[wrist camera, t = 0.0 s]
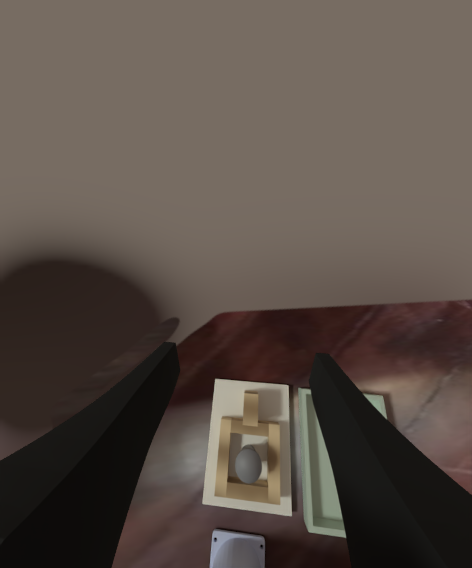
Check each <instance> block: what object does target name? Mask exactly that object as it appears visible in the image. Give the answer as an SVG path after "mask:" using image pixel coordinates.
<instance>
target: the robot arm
mask: <svg viewBox="0 0 472 568" xmlns="http://www.w3.org/2000/svg"><path fill="white" fill-rule="evenodd" d="M179 372H180V366H179V360H178V354H177V348H176V343H172V342H164V343H163V344H161V345H160V346H159V347H158V348H157V349H156V350H155V351H154V352H153V353H152V354H150V355H149V356H148V357H147V358H146V359H145V360H144V361H143V362H142V363H141V364H139V365H138V366H137V367H136V368H135V369H134V370H133V371H132V372H130V373H129V374H128V375H127V376H126V377H125V378H123V379H122V380H121V381H120V382H118V383H117V384H116V385H115V386H114V387H113V388H111V389H110V390H109V391H107V392H106V393H105V394H103V395H102V396H101V397H100V398H98V399H97V400H96V401H94V402H93V403H91V404H90V405H89V406H87V407H86V408H84V409H83V410H82V411H80V412H79V413H77V414H76V415H74V416H73V417H71V418H70V419H68V420H67V421H65V422H63V423H62V424H60V425H59V426H57V427H56V428H54V429H53V430H51V431H50V432H48V433H47V434H45V435H43V436H42V437H40V438H38V439H37V440H35V441H33V442H32V443H30V444H28V445H27V446H25V447H23V448H22V449H20V450H18V451H16V452H15V453H13V454H11V455H10V456H8V457H6V458H4V459H3V460H1V461H0V568H111V567H112V564H113V560H114V557H115V553H116V550H117V546H118V543H119V539H120V536H121V533H122V529H123V526H124V523H125V520H126V516H127V513H128V510H129V507H130V503H131V500H132V497H133V494H134V491H135V488H136V485H137V482H138V479H139V476H140V473H141V470H142V467H143V464H144V461H145V459H146V456H147V453H148V450H149V447H150V445H151V442H152V440H153V437H154V435H155V433H156V430H157V428H158V426H159V424H160V421H161V419H162V417H163V414H164V412H165V410H166V408H167V405H168V403H169V401H170V398H171V396H172V394H173V391H174V389H175V386H176V382H177V379H178V376H179ZM309 384H310V390H311V396H312V401H313V405H314V409H315V412H316V415H317V419H318V422H319V426H320V429H321V432H322V436H323V439H324V442H325V446H326V449H327V452H328V456H329V459H330V463H331V467H332V471H333V475H334V480H335V485H336V489H337V494H338V499H339V504H340V509H341V514H342V519H343V524H344V529H345V534H346V539H347V544H348V550H349V555H350V561H351V566H352V568H472V495H471V494H470V493H468V492H467V491H466V490H465V489H464V488H462V487H461V486H460V485H459V484H458V483H456V482H455V481H454V480H453V479H452V478H451V477H449V476H448V475H447V474H446V473H445V472H444V471H442V470H441V469H440V468H439V467H438V466H437V465H435V464H434V463H433V462H432V461H431V460H430V459H428V458H427V457H426V456H425V455H424V454H423V453H422V452H421V451H419V450H418V449H417V448H416V447H415V446H414V445H413V444H412V443H411V442H410V441H409V440H408V439H407V438H406V437H404V436H403V435H402V434H401V433H400V432H399V431H398V430H397V429H396V428H395V427H394V426H393V425H392V424H391V423H390V422H389V421H388V420H387V419H386V418H385V417H384V416H383V415H382V414H381V413H380V412H379V411H378V410H377V409H376V408H375V407H374V406H373V404H372V403H371V402H370V401H369V400H368V399H367V398H366V397H365V396H364V395H363V393H362V392H361V391H360V390H359V389H358V388H357V387H356V386H355V384H354V383H353V382H352V381H351V380H350V379H349V377H348V376H347V375H346V374H345V373H344V372H343V370H342V369H341V368H340V367H339V366H338V364H337V363H336V362H335V361H334V360H333V358H332V357H331V356H330V355H329V354H324V353H316V355H315V359H314V363H313V367H312V371H311V375H310V379H309ZM215 537H216V538H217V540H215V539H214V538H215ZM261 544H262V545H263V547H260V545H261ZM210 568H265V539H264V537H263V536H260V535H253V534H247V533H240V532H233V531H227V530H220V529H215V530H214V531H213V535H212V547H211V559H210Z"/></svg>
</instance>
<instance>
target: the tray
mask: <svg viewBox="0 0 472 568" xmlns="http://www.w3.org/2000/svg"><path fill="white" fill-rule="evenodd" d="M298 391H299V415H300V438H301V461H302V484H303V508H304V521H305V524H306V527H307V529H308V532H311V533H318V534H325V535H332V536H339V537H345V538H346V534H345V529H344V524H343V519H342V514H341V509H340V504H339V499H338V494H337V489H336V485H335V480H334V475H333V471H332V467H331V463H330V459H329V456H328V452H327V449H326V446H325V442H324V439H323V436H322V432H321V429H320V426H319V422H318V419H317V415H316V412H315V409H314V405H313V401H312V396H311V390H310V389H308V388H298ZM363 395H364V396H365V397H366V398H367V399H368V400H369V401H370V402H371V403H372V404H373V406H374V407H375V408H376V409H377V410H378V411H379V412H380V413H381V414H382V415H383V416H384V417H385V418H386V419H387V416H386V410H385V405H384V400H383V396H380V395H376V394H366V393H363Z"/></svg>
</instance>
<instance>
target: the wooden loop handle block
mask: <svg viewBox="0 0 472 568" xmlns="http://www.w3.org/2000/svg"><path fill="white" fill-rule="evenodd" d="M258 395H259V394H258V392H257V391H246V390H245V391H244V407H243V418H234V417H224V416H222V418H221V425H220V436H219V448H218V459H217V470H216V482H215V493H214V496H216V497H224V498H231V499H238V500H246V501H253V502H261V503H268V504H275V505H280V425H279V423H278V422H273V421H263V420H258ZM231 433H238V434H247V435H257V436H266V437H268V450H267V481H264V480H257V481H255V482H254V483H250V484H248V483H244V482H243V481H241V480H240V478H239V477H233V476H228V471H229V457H230V442H231Z"/></svg>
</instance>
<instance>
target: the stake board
mask: <svg viewBox="0 0 472 568" xmlns="http://www.w3.org/2000/svg"><path fill="white" fill-rule="evenodd" d="M245 390H246V391H257V392H258V394H259V395H258V420H263V421H273V422H278V423H279V425H280V505H275V504H268V503H261V502H253V501H246V500H238V499H231V498H224V497H216V496H214V493H215V482H216V470H217V459H218V448H219V436H220V425H221V418H222V416H224V417H234V418H243V407H244V391H245ZM267 450H268V437H266V436H257V435H247V434H238V433H231V442H230V457H229V471H228V476H233V477H239V478H240V480H241V481H243V482H244V483H248V484H250V483H254V482H255V481H257V480H264V481H267ZM202 504H207V505H214V506H222V507H229V508H236V509H243V510H250V511H257V512H265V513H272V514H279V515H286V516H292V505H291V466H290V427H289V388H288V385H282V384H271V383H259V382H248V381H236V380H225V379H215V387H214V397H213V407H212V416H211V426H210V435H209V445H208V455H207V464H206V474H205V483H204V493H203V503H202Z"/></svg>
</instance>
